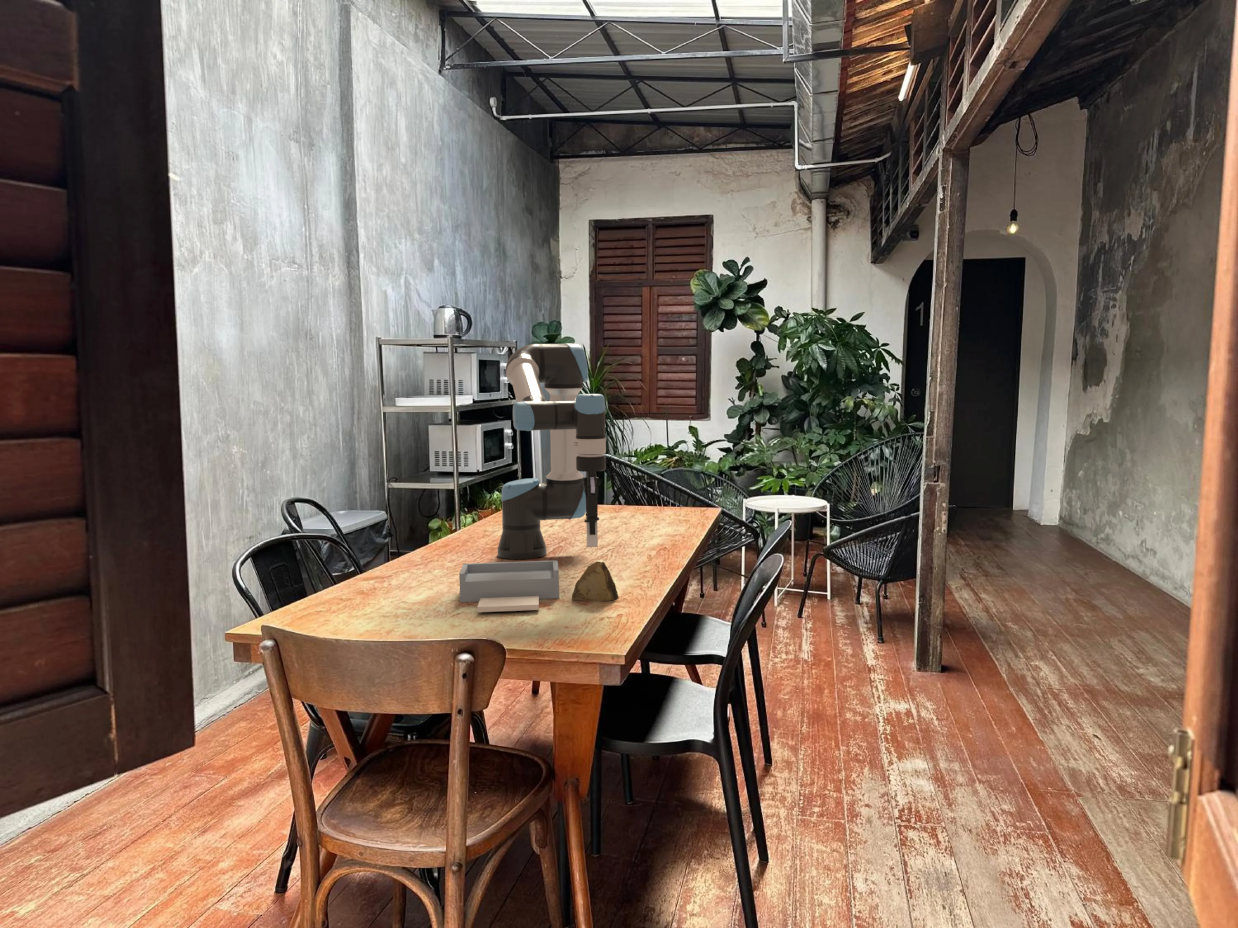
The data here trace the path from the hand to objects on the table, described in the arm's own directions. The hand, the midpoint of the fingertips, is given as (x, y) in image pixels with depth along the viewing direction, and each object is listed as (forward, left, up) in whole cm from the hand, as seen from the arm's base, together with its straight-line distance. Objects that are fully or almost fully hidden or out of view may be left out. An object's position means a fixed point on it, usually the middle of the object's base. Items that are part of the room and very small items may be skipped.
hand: (592, 546), depth 217 cm
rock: (+12, -1, -11) cm, 16 cm away
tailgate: (+11, -21, -11) cm, 26 cm away
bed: (+4, -21, -11) cm, 24 cm away
